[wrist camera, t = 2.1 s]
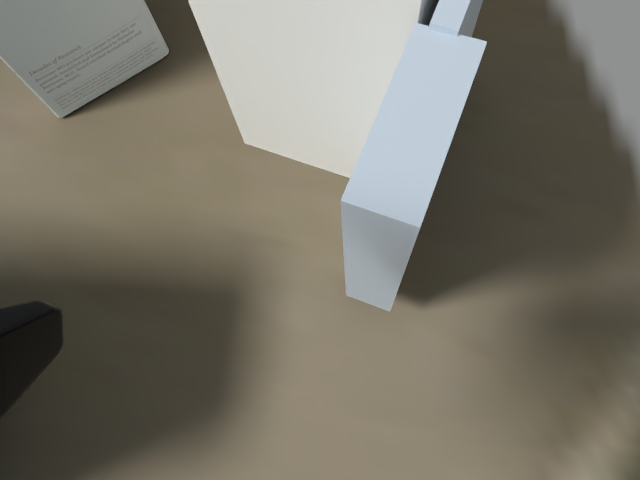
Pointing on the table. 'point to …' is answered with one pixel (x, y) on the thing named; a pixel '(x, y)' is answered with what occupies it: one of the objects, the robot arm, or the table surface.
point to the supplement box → (77, 46)
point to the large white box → (308, 70)
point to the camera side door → (407, 151)
